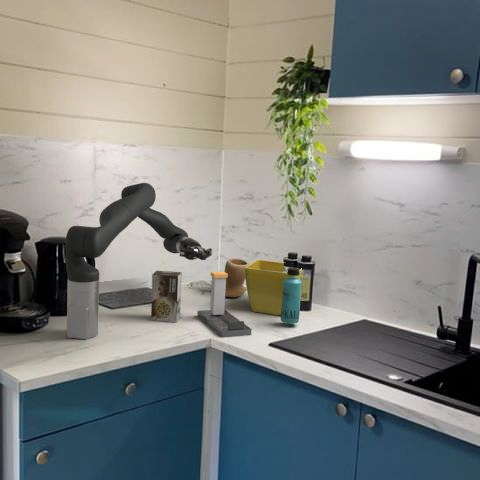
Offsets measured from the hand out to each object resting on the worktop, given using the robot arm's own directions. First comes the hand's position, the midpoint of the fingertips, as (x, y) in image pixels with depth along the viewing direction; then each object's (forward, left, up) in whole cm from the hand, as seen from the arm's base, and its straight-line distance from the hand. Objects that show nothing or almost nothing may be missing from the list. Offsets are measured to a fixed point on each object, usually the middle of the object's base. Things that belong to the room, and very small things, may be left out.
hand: (204, 257), depth 212 cm
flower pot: (+13, -25, -21) cm, 35 cm away
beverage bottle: (-5, -32, -21) cm, 38 cm away
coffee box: (-11, +10, -21) cm, 26 cm away
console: (-12, -10, -20) cm, 26 cm away
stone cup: (+31, -8, -21) cm, 38 cm away
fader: (-7, -7, -18) cm, 20 cm away
